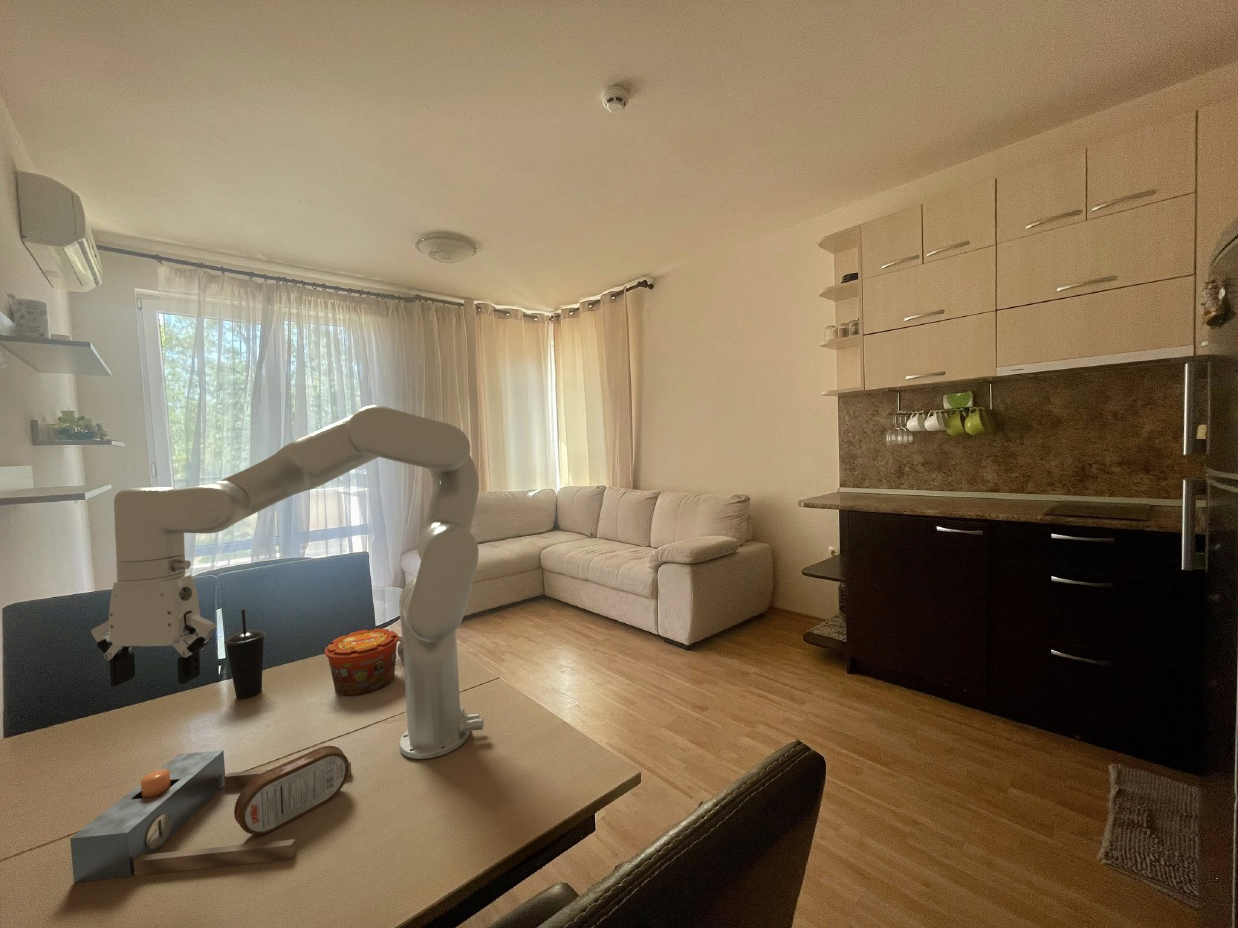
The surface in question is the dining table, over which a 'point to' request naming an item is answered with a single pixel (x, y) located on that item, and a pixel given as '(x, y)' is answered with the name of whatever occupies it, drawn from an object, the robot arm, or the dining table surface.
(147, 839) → the cabinet
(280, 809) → the tin
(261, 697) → the dining table surface
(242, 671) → the drinking cup
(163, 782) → the button
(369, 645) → the food container
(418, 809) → the dining table surface
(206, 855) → the rail channel
